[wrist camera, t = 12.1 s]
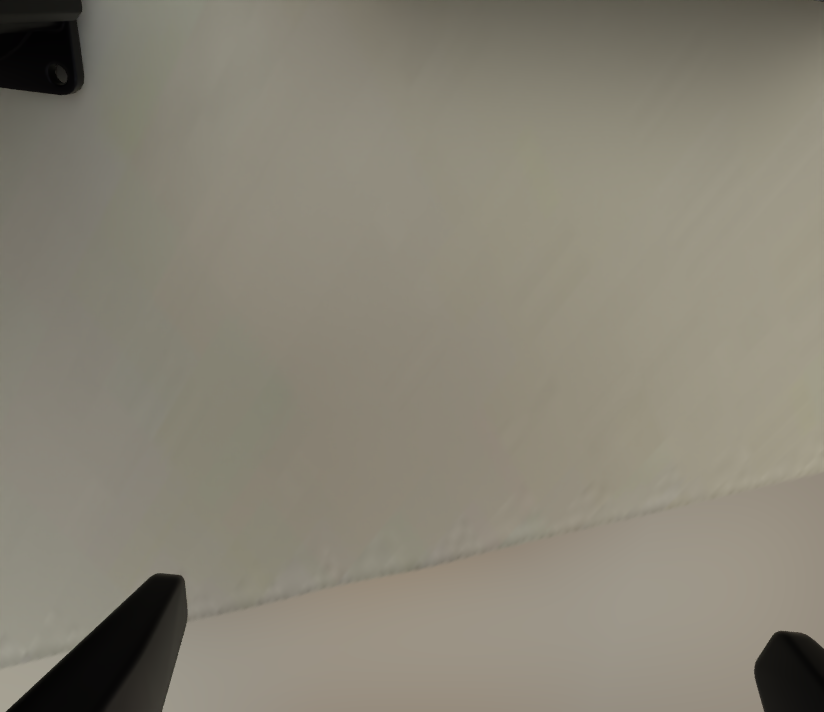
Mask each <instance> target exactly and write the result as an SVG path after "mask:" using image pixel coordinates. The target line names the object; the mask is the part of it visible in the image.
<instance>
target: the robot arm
mask: <svg viewBox="0 0 824 712" xmlns="http://www.w3.org/2000/svg"><path fill="white" fill-rule="evenodd" d="M81 12H82V4H81V0H0V87H1V88H8V89H16V90H24V91H32V92H40V93H48V94H56V95H67V94H72V93H75V92H77V91H78V90H80V89H81V87H82V85H83V84H84V71H83V64H82V56H81V49H80V42H79V34H78V27H77V19H76V18H77V17H78V16H79V15H80V13H81ZM57 65H60V66H62V67H63V68H64V69H65V71H66V73H67V82H66V83H64V82H61V81H60V79H59V78H58V77H57V75H56V72H55V70H56V66H57ZM187 616H188V609H187V599H186V588H185V581H184V578H183V577H182V576H181V575H174V574H164V573H157V574H155V575H153V576H151V577H150V578H149V579H148V580H147V581H146V582H144V583H143V584H142V585H141V586H140V587H139V588H138V589H137V590H136V591H135V592H134V593H133V594H132V595H131V596H129V597H128V598H127V599H126V600H125V601H124V602H123V603H122V604H121V605H120V606H119V607H118V608H117V609H115V610H114V611H113V612H112V613H111V614H110V615H109V616H108V617H107V618H106V619H105V620H104V621H103V622H102V623H100V624H99V625H98V626H97V627H96V628H95V629H94V630H93V631H92V632H91V633H90V634H89V635H88V636H87V637H85V638H84V639H83V640H82V641H81V642H80V643H79V644H78V645H77V646H76V647H75V648H74V649H73V650H72V651H70V652H69V653H68V654H67V655H66V656H65V657H64V658H63V659H62V660H61V661H60V662H59V663H58V664H57V665H55V666H54V667H53V668H52V669H51V670H50V671H49V672H48V673H47V674H46V675H45V676H44V677H43V678H42V679H41V680H39V681H38V682H37V683H36V684H35V685H34V686H33V687H32V688H31V689H30V690H29V691H28V692H27V693H25V694H24V695H23V696H22V697H21V698H20V699H19V700H18V701H17V702H16V703H15V704H14V705H13V706H11V707H10V708H9V709H8V710H7V711H6V712H162V709H163V705H164V702H165V698H166V695H167V691H168V688H169V684H170V681H171V677H172V673H173V670H174V667H175V663H176V660H177V656H178V652H179V648H180V645H181V642H182V638H183V635H184V631H185V627H186V623H187ZM754 674H755V679H756V684H757V687H758V691H759V694H760V698H761V702H762V705H763V709H764V712H824V649H823V648H822V647H821V646H820V645H819V644H818V643H817V642H816V641H814V640H813V639H812V638H811V637H809V636H808V635H806V634H803V633H798V632H788V631H778V632H776V633H775V634H774V635H773V636H772V637H771V639H770V640H769V642H768V643H767V645H766V647H765V648H764V650H763V651H762V653H761V654H760V656H759V657H758V659H757V661H756V663H755V669H754Z"/></svg>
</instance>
